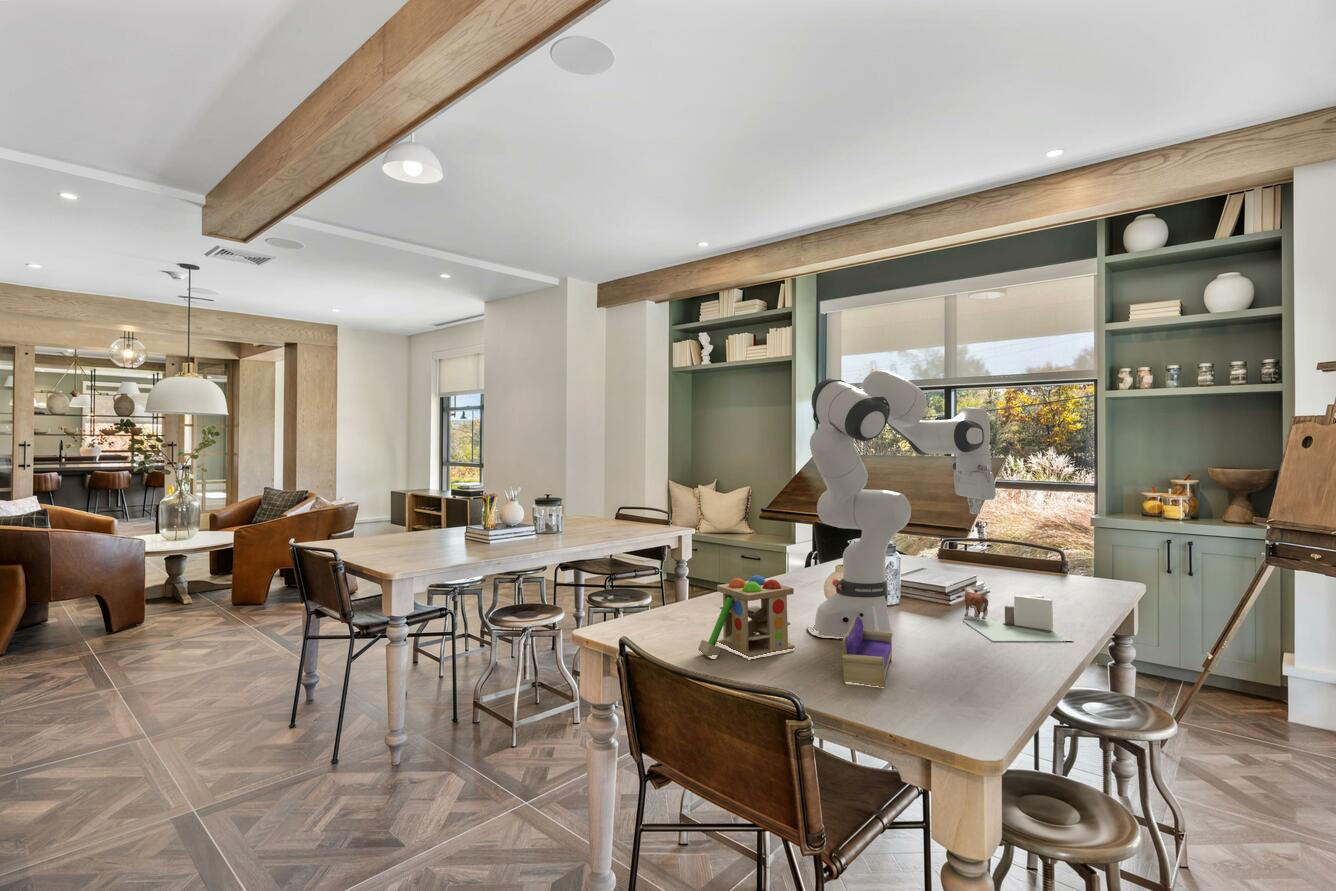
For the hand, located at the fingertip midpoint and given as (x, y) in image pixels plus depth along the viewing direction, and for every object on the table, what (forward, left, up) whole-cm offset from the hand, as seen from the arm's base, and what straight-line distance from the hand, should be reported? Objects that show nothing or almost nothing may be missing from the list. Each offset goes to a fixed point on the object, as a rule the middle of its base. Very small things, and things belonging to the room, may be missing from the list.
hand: (975, 513), depth 186 cm
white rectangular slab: (+13, -6, -30) cm, 33 cm away
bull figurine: (+2, +7, -31) cm, 32 cm away
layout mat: (+7, -8, -31) cm, 33 cm away
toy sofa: (-40, -40, -32) cm, 65 cm away
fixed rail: (+12, -2, -31) cm, 33 cm away
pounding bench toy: (-67, -26, -32) cm, 79 cm away
